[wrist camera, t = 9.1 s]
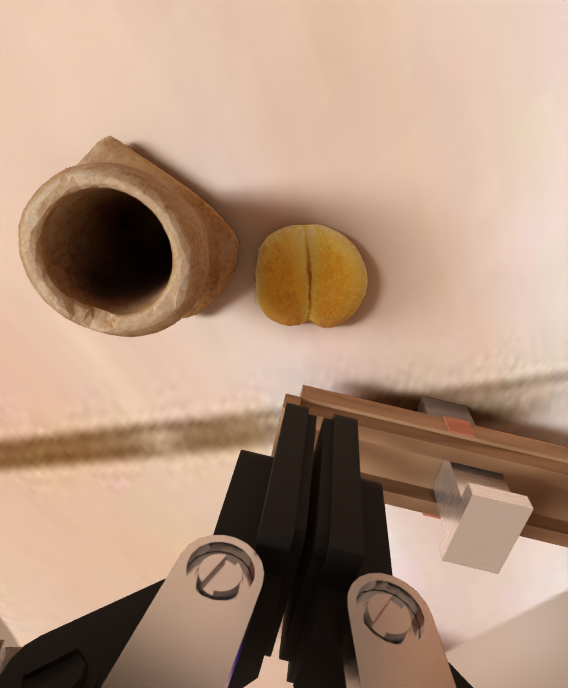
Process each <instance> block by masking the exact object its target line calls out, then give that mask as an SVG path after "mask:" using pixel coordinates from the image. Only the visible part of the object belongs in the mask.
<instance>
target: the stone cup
mask: <svg viewBox="0 0 568 688" xmlns="http://www.w3.org/2000/svg"><path fill="white" fill-rule="evenodd" d="M238 249H239V243H238V240H237V237H236V236H235V234H234V232H233V231H232V229H231V228H230V226H229V225H228V224H227V223H226V222H225V221H224V219H223V218H222V217H221V216H220V215H219V214H218V213H217V212H216V211H215V210H214V209H213V208H212V207H211V206H210V205H209V204H208V203H207V202H205V201H204V200H203V199H202V198H200V197H199V196H198V195H197V194H195V193H194V192H193V191H191V190H190V189H189V188H187V187H186V186H184V185H183V184H182V183H180V182H179V181H177V180H176V179H174V178H173V177H171V176H170V175H169V174H167V173H166V172H164V171H163V170H161V169H160V168H158V167H157V166H155V165H154V164H152V163H151V162H149V161H148V160H146V159H145V158H143V157H142V156H140V155H139V154H137V153H136V152H134V151H133V150H132V149H130V148H129V147H128V146H126V145H125V144H123V143H122V142H120V141H119V140H117V139H115V138H113V137H111V136H108V137H106V138H104V139H102V140H101V141H99V142H98V143H97V144H96V145H95V146H94V147H93V148H92V150H91V151H90V152H89V153H88V154H87V155H86V156H85V157H84V158H83V159H82V160H81V161H80V162H79V163H78V165H76V166H73V167H70V168H66V169H65V170H63V171H61V172H60V173H58V174H56V175H54V176H53V177H52V178H50V179H49V180H48V181H47V182H46V183H44V184H43V185H42V186H41V187H40V188H39V189H38V190H37V191H36V192H35V194H34V195H33V196H32V198H31V199H30V200H29V202H28V204H27V205H26V207H25V209H24V211H23V213H22V216H21V220H20V223H19V252H20V257H21V260H22V263H23V266H24V268H25V271H26V274H27V276H28V278H29V280H30V282H31V283H32V285H33V286H34V288H35V289H36V291H37V292H38V294H39V295H40V296H41V297H42V298H43V300H44V301H45V302H46V303H47V304H48V305H50V306H51V307H52V308H53V309H55V310H56V311H57V312H58V313H60V314H61V315H62V316H63V317H65V318H67V319H69V320H71V321H73V322H75V323H77V324H78V325H81V326H83V327H86V328H88V329H91V330H94V331H98V332H101V333H105V334H109V335H116V336H124V337H136V336H143V335H148V334H153V333H157V332H159V331H162V330H164V329H166V328H168V327H170V326H172V325H173V324H175V323H176V322H177V321H179V320H180V319H181V318H188V317H190V316H193V315H196V314H198V313H199V312H200V311H202V310H203V309H205V308H206V307H207V306H209V305H210V304H211V302H212V301H213V300H214V299H215V298H216V297H218V296H219V295H220V293H221V292H222V290H223V289H224V288H225V286H226V285H227V283H228V282H229V280H230V278H231V276H232V274H233V272H234V270H235V268H236V263H237V253H238Z"/></svg>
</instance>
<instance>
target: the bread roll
mask: <svg viewBox="0 0 568 688" xmlns="http://www.w3.org/2000/svg"><path fill="white" fill-rule="evenodd" d="M255 274H256V282H255V303H257V304H258V305H259V306H260V307H261V309H262V311H263V312H264V313H265V314H266V316H267V317H268V318H270V319H271V320H273V321H275V322H277V323H279V324H282V325H287V326H293V325H300V324H302V323H305V322H306V321H311V322H313V323H314V324H316V325H318V326H320V327H324V328H332V327H335V326H338V325H340V324H342V323H343V322H345V321H346V320H348V319H349V318H350V317H351V316H352V315H353V314H354V313H355V312H356V311H357V310H358V308H359V306H360V304H361V302H362V300H363V298H364V296H365V294H366V290H367V280H368V278H367V270H366V267H365V264H364V262H363V260H362V258H361V255H360V253H359V251H358V250H357V248H356V246H355V245H354V244H353V243H352V242H351V241H350V240H349V239H347V238H346V237H345V236H344V235H343V234H341V233H339V232H338V231H336V230H334V229H331V228H330V227H327V226H323V225H319V224H310V225H291V226H287V227H284V228H281V229H278V230H277V231H275V232H273V233H271V234H270V235H268V236H267V237H266V238H265V240H264V242H263V243H262V245H261V247H260V249H259V250H258V252H257V264H256V272H255Z"/></svg>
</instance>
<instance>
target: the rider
mask: <svg viewBox="0 0 568 688" xmlns="http://www.w3.org/2000/svg"><path fill="white" fill-rule="evenodd" d="M433 490H434V494H435V498H436V502H437V505H438V509H439V513H440V517H441V521H442V525H443V529H444V533H445V534H444V537H443V539H442V541H441V543H440V545H439V551H440V555H441V559H442V561H446V562H450V563H455V564H459V565H463V566H467V567H471V568H475V569H479V570H484V571H488V572H492V573H496V574H499V572H500V570H501V568H502V566H503V565H504V563H505V561H506V559H507V557H508V555H509V553H510V552H511V550H512V548H513V546H514V544H515V542H516V541H517V539H518V537H519V535H520V533H521V531H522V530H523V528H524V526H525V524H526V522H527V520H528V518H529V517H530V515H531V513H532V511H533V507H532V505H531V503H530V501H529V499H528V497H527V496H524V495H520V494H515V493H511V492H510V490H509V488H508V486H507V483H506V481H505V479H504V477H503V475H502V474H501V473H497V472H493V471H488V470H484V469H480V468H476V467H471V466H467V465H463V464H459V463H455V462H450V461H446V460H444V462H443V464H442V466H441V469H440V471H439V473H438V476H437V478H436V481H435V483H434V485H433Z"/></svg>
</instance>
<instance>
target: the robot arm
mask: <svg viewBox="0 0 568 688" xmlns="http://www.w3.org/2000/svg"><path fill="white" fill-rule="evenodd" d="M316 421H317V416H315V415H311V414H309V408H308V407H304V406H300V405H296V404H292V403H286V407H285V411H284V415H283V420H282V424H281V428H280V432H279V436H278V441H277V445H276V449H275V453H274V457H271V456H266V455H262V454H258V453H254V452H250V451H245V450H241V452H240V454H239V457H238V460H237V464H236V467H235V470H234V473H233V476H232V479H231V482H230V485H229V488H228V491H227V494H226V497H225V500H224V503H223V507H222V510H221V513H220V516H219V519H218V522H217V525H216V528H215V531H214V534H213V535H210V536H207V537H203V538H199V539H198V540H196V541H194V542H193V543H191V544H189V545H188V546H187V547H186V549H185V550H184V551H183V552H182V553H181V555H180V556H179V558H178V560H177V561H176V563H175V565H174V566H173V568H172V570H171V571H170V573H169V575H168V576H167V578H166V579H164V580H161V581H159V582H157V583H155V584H153V585H150V586H148V587H146V588H144V589H142V590H139V591H137V592H135V593H133V594H131V595H129V596H126V597H124V598H122V599H120V600H118V601H115V602H113V603H111V604H109V605H107V606H105V607H102V608H100V609H98V610H96V611H94V612H91V613H89V614H87V615H85V616H83V617H81V618H78V619H76V620H74V621H72V622H70V623H67V624H65V625H63V626H61V627H59V628H57V629H54V630H52V631H50V632H48V633H46V634H43V635H41V636H39V637H38V638H36V639H34V640H33V641H31V642H30V643H28V644H26V645H25V646H24V647H5V640H0V688H243V687H245V686H246V685H248V684H249V683H251V682H252V681H254V680H255V679H256V678H258V675H259V672H260V668H261V665H262V662H263V658H264V655H265V656H269V657H270V656H271V654H272V651H273V648H274V644H275V641H276V638H277V634H278V631H279V627H280V624H281V621H282V617H283V614H284V619H283V628H282V636H281V644H280V652H279V659H281V660H285V661H289V664H288V673H287V682H291V683H294V684H293V687H294V688H473V687H472V686H471V685H470V684H469V683H468V682H467V681H466V680H465V679H464V678H463V677H462V676H461V675H460V674H459V672H458V671H457V670H456V669H455V668H454V667H453V666H452V665H451V664H450V663H449V662H448V661H447V658H446V655H445V652H444V649H443V646H442V643H441V640H440V637H439V634H438V631H437V628H436V625H435V622H434V619H433V616H432V614H431V612H430V610H429V608H428V606H427V604H426V602H425V601H424V600H423V598H422V597H421V596H420V595H419V593H418V592H417V591H416V590H414V589H413V588H412V587H411V586H409V585H408V584H407V583H406V582H404V581H402V580H400V579H398V578H396V577H394V576H392V567H391V558H390V549H389V540H388V531H387V522H386V513H385V504H384V495H383V488H382V484H381V483H380V482H375V481H371V480H367V479H363V478H361V475H360V455H359V436H358V420H357V419H355V418H351V417H347V416H342V415H338V414H334V415H333V417H332V419H328V418H323V421H322V424H321V428H320V431H319V435H318V438H317V442H316V446H315V449H314V443H315V432H316Z"/></svg>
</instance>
